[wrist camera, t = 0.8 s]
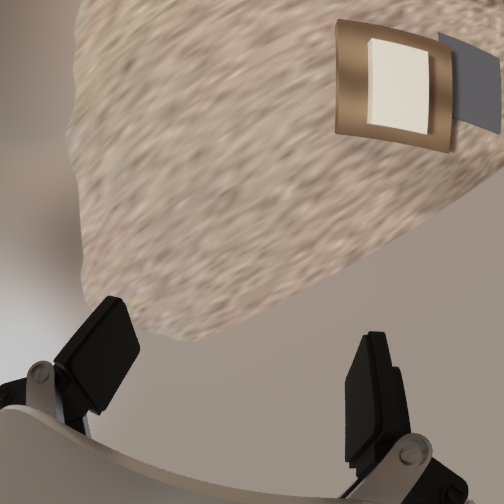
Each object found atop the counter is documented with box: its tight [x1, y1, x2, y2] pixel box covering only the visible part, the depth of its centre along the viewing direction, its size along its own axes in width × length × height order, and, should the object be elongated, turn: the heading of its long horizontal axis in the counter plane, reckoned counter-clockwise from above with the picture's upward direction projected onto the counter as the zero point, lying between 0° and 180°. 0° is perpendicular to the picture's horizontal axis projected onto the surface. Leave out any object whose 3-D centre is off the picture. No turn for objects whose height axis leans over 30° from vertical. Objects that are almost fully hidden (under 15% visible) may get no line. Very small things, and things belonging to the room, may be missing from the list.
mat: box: [438, 33, 501, 134], centre depth 20 cm, size 11×10×1 cm
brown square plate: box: [335, 19, 452, 154], centre depth 23 cm, size 13×13×3 cm
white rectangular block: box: [367, 38, 429, 135], centre depth 21 cm, size 9×6×2 cm, turn 0°
